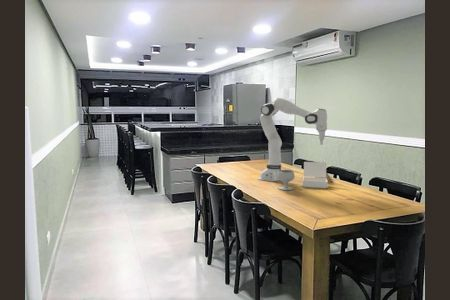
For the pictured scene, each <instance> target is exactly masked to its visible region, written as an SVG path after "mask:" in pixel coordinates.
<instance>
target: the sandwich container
mask: <svg viewBox="0 0 450 300" xmlns="http://www.w3.org/2000/svg"><path fill="white" fill-rule="evenodd" d="M314 178H327V181H328V182H332V181H331V180H333V179H332V177H330V175H329V174H328V173H327V172H326V177H314Z"/></svg>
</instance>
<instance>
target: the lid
mask: <svg viewBox="0 0 450 300" xmlns="http://www.w3.org/2000/svg"><path fill="white" fill-rule="evenodd" d="M326 173H327V162H321V161H318V162H317V161H303V177H311V178H315V177H326Z"/></svg>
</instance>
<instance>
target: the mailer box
mask: <svg viewBox="0 0 450 300" xmlns="http://www.w3.org/2000/svg"><path fill="white" fill-rule="evenodd" d="M328 183H329V181H327V178H315V177H305V176H303V177H302V188H309V189H310V188H311V189H326V190H327V189H328Z"/></svg>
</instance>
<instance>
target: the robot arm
mask: <svg viewBox="0 0 450 300" xmlns="http://www.w3.org/2000/svg"><path fill="white" fill-rule="evenodd" d="M279 111H280V112H282V113H284V114H287V115H296V116H300V117H301V118H304V122H305V123H306V124H308V125H315V130H316V131H317V132H318V139H319V140H320V141H319V143H320V145H324V144H323V142H324V140H325V136H326V131H328V123H327V121H328V113H327V112H328V111H327V110H326V109H324V108H317V109H316V110H314V111H311V112H310V111H308V110H306V109H304V108H301V107H299V105H296V104H295V103H293V102H291V101H290V100H287V99H285V98H282V97H276V98H275V99H274V101H273V102H267V103H265V104H263V105H262V106H261V109H260V112H261V114H260V116H259V120H260V124H261V127H262V130H263V132H264V135H265V137H266V139H267V140H268V144H267V145H268V163H267V164H266V168H265V169H263V170H262V171H261V173H260V176H258V177H257V180H259V181H268V182H278V181H279V182H280V180H279V179H278V178H277V174H278V171H279V170H282V155H281V147H282V145H283V142H282V139H281V137H280V135H279V134H278V131H277V128H276V126H275V123H274V121H273V118H272V117H273V116H275V115H276V114H277V113H278V112H279Z"/></svg>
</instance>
